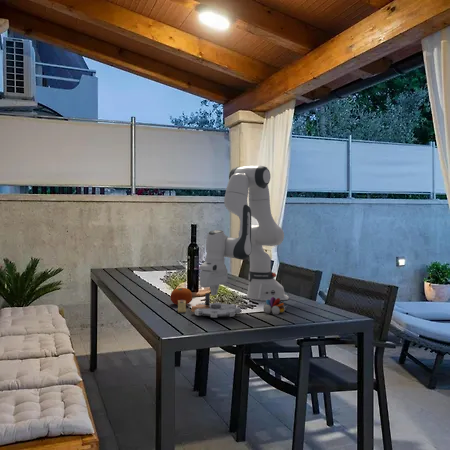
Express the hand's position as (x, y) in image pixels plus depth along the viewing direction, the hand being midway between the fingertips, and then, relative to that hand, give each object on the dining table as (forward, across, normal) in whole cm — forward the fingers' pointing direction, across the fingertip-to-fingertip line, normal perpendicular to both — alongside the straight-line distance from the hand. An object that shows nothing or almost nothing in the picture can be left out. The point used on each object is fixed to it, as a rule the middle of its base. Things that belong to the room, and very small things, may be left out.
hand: (214, 294), depth 223 cm
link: (+7, +10, -11) cm, 17 cm away
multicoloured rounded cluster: (+7, -10, +26) cm, 29 cm away
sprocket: (+6, +9, +6) cm, 12 cm away
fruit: (+7, -1, -19) cm, 20 cm away
